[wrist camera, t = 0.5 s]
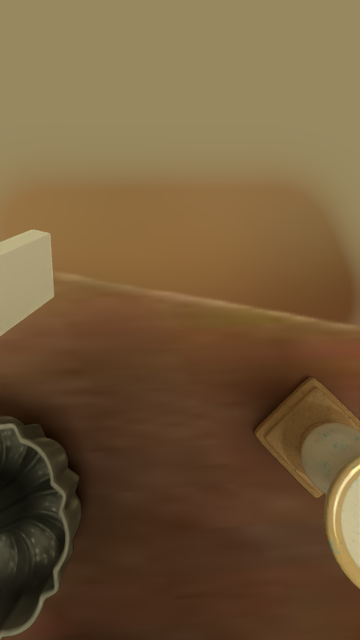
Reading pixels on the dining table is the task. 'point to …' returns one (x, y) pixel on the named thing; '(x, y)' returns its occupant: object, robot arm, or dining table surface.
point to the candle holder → (322, 461)
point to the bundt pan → (33, 521)
